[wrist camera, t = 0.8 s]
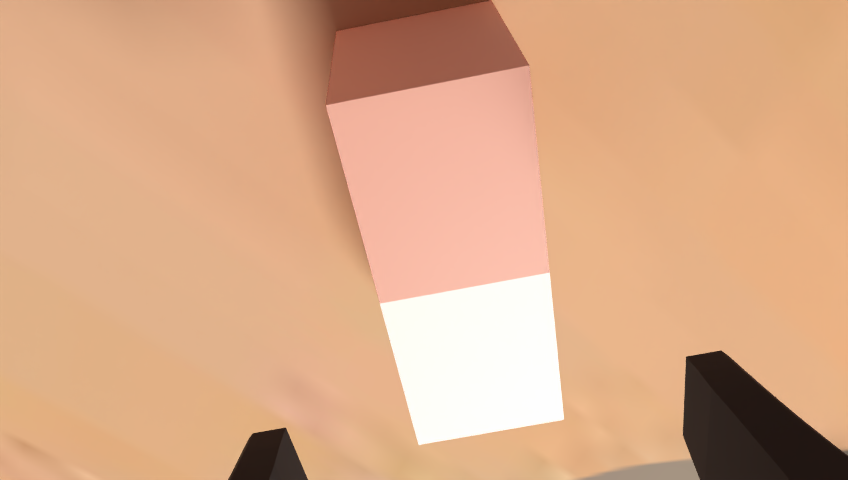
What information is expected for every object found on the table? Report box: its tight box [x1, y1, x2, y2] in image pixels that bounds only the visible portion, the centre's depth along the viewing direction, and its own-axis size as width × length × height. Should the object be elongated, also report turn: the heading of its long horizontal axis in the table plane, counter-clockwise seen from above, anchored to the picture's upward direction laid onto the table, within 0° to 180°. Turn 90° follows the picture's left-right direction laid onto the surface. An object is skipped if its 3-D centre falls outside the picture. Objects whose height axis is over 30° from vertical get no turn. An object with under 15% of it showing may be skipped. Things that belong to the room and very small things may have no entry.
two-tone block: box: [326, 0, 564, 445], centre depth 18 cm, size 4×10×5 cm, turn 10°
